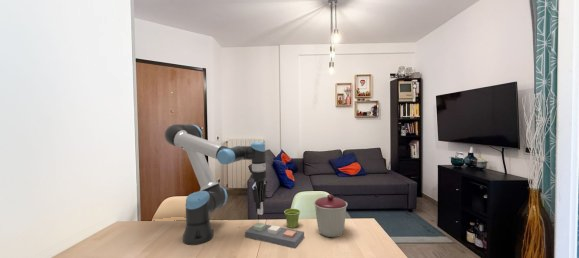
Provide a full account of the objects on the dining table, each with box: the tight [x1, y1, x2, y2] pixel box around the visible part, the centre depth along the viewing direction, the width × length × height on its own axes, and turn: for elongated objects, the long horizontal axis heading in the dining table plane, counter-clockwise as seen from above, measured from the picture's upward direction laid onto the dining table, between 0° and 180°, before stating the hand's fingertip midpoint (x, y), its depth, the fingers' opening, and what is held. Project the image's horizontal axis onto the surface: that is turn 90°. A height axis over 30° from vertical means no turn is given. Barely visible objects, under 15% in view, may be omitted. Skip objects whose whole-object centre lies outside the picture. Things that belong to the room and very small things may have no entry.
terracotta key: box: [283, 230, 296, 238], centre depth 121 cm, size 5×5×3 cm
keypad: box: [244, 223, 305, 249], centre depth 125 cm, size 29×12×3 cm, turn 65°
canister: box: [313, 194, 348, 238], centre depth 129 cm, size 18×18×21 cm
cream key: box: [268, 225, 282, 235], centre depth 125 cm, size 5×5×3 cm
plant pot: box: [283, 208, 301, 229], centre depth 139 cm, size 9×9×9 cm
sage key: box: [252, 222, 267, 232], centre depth 129 cm, size 5×5×3 cm
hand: (260, 214), depth 129 cm, fingers closed
